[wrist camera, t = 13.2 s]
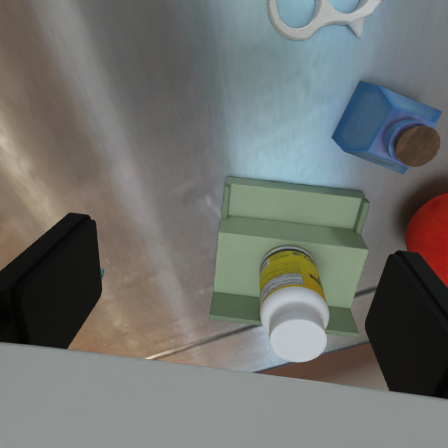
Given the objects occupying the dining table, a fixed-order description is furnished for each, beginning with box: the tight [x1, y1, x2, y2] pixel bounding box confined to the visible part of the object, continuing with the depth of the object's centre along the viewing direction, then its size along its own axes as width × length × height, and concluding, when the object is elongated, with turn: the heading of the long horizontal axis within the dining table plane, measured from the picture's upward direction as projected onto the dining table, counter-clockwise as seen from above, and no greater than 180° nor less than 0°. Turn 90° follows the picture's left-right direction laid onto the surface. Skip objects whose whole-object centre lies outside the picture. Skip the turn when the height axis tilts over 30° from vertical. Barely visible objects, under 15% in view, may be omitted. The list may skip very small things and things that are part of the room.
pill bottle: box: [260, 246, 329, 362], centre depth 33 cm, size 6×6×11 cm
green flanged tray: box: [209, 177, 370, 338], centre depth 39 cm, size 13×16×11 cm
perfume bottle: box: [332, 81, 442, 174], centre depth 32 cm, size 6×6×12 cm
